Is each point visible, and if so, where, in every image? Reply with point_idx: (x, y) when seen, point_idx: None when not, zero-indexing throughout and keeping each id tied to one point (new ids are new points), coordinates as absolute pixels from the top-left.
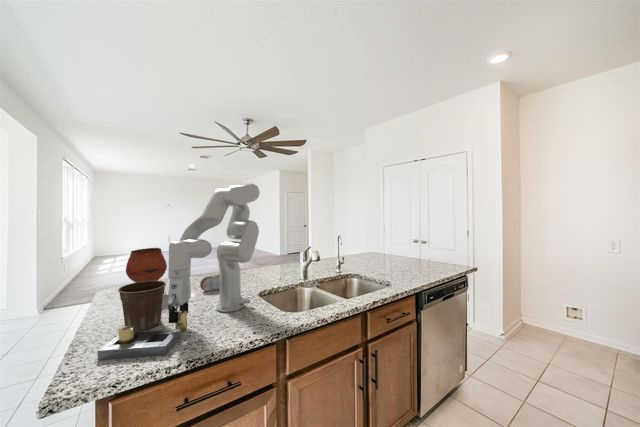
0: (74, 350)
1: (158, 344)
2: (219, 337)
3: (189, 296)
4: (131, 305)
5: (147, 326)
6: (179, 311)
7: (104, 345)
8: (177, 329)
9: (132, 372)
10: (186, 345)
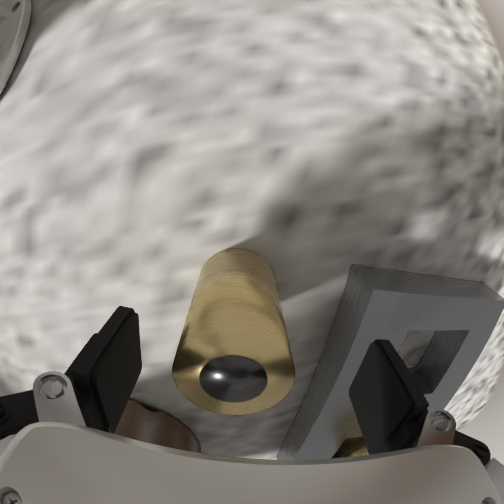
0: None
1: (480, 336)
2: (421, 38)
3: (93, 483)
4: None
5: (184, 436)
6: (197, 394)
7: None
8: (367, 309)
9: (501, 339)
10: (454, 212)
